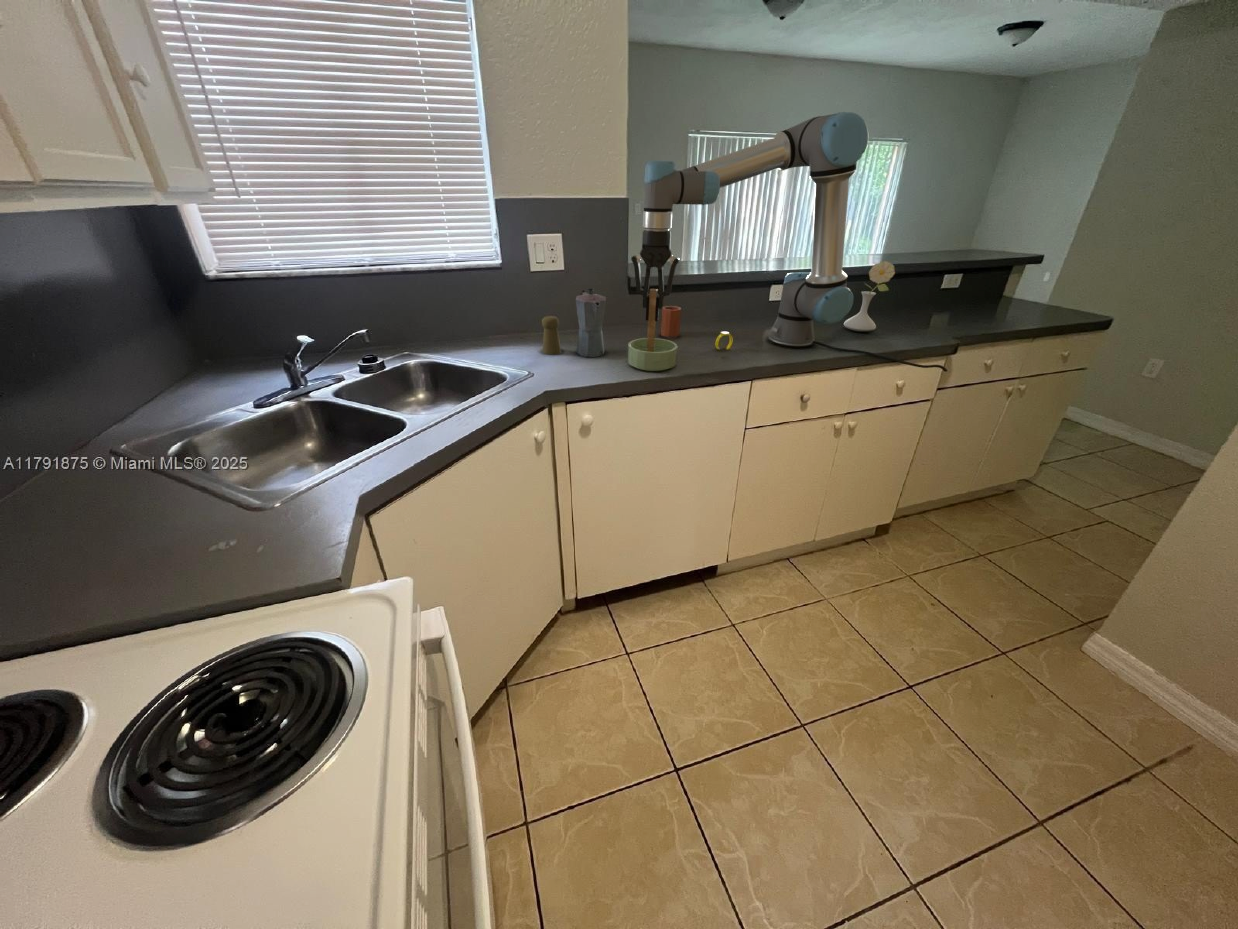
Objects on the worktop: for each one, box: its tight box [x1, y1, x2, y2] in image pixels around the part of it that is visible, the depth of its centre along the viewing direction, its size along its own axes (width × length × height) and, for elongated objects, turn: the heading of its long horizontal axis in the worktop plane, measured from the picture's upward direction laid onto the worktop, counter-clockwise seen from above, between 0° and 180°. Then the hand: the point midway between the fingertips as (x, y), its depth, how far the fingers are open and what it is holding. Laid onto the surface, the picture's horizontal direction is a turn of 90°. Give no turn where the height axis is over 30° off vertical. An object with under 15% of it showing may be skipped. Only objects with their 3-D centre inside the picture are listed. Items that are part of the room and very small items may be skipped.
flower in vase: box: [843, 260, 896, 333], centre depth 179 cm, size 13×11×25 cm
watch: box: [714, 330, 734, 351], centre depth 159 cm, size 6×3×6 cm, turn 114°
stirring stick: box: [646, 288, 659, 352], centre depth 141 cm, size 2×2×20 cm
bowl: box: [627, 337, 678, 372], centre depth 145 cm, size 15×15×6 cm
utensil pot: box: [660, 305, 682, 338], centre depth 170 cm, size 6×6×10 cm
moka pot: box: [575, 288, 607, 358], centre depth 150 cm, size 10×15×20 cm, turn 27°
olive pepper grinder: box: [541, 315, 562, 356], centre depth 153 cm, size 6×6×11 cm
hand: (652, 319), depth 140 cm, fingers closed on stirring stick, 2 cm apart
